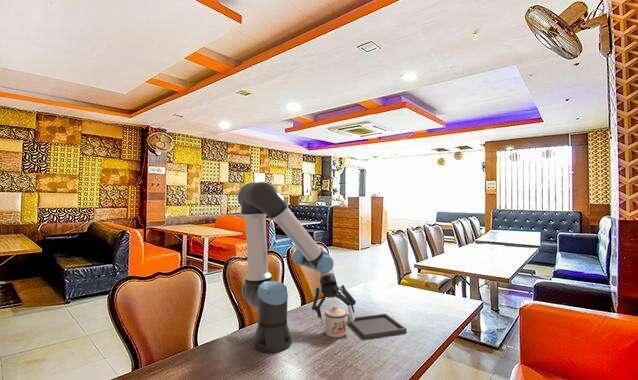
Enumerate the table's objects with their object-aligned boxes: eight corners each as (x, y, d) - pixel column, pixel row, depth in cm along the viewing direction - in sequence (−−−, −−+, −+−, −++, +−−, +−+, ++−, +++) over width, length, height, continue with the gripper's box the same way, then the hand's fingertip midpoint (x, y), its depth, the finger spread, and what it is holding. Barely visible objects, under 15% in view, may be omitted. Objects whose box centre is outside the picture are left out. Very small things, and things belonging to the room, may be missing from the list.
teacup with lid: (332, 340, 130) (332, 311, 130) (321, 331, 137) (321, 304, 138) (355, 333, 136) (355, 306, 136) (343, 325, 143) (343, 300, 144)
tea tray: (364, 339, 131) (364, 334, 131) (347, 322, 148) (347, 318, 148) (406, 332, 137) (406, 328, 137) (385, 317, 154) (385, 313, 154)
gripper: (349, 280, 156) (362, 322, 141) (300, 284, 148) (308, 330, 133) (353, 272, 151) (367, 315, 136) (303, 276, 143) (312, 322, 128)
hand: (338, 322), depth 135 cm, fingers open, 13 cm apart
